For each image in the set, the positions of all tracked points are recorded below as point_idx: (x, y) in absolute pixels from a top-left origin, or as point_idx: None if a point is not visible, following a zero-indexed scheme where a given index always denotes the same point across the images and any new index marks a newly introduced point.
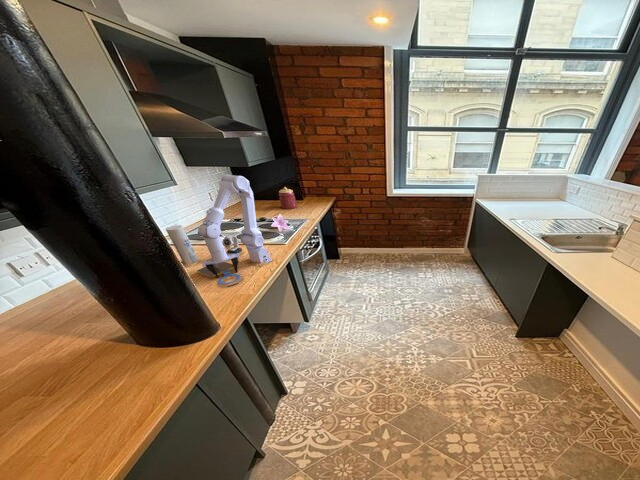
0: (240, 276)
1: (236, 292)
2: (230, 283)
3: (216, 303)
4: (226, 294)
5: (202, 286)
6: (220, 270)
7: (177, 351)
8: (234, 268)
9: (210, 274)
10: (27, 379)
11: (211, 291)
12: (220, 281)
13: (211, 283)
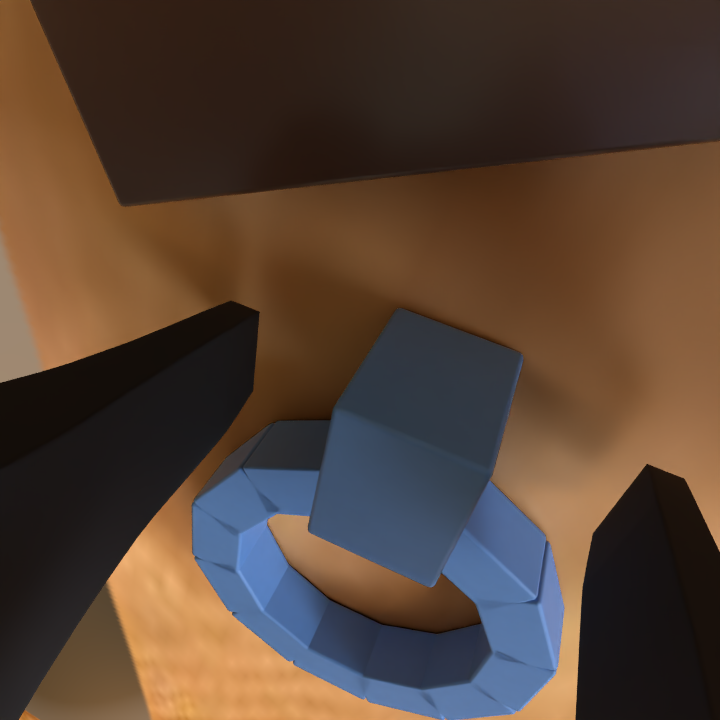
0: (519, 704)
1: (322, 714)
2: (315, 671)
3: (151, 661)
4: (241, 661)
5: (23, 300)
6: (400, 30)
7: None
8: (628, 616)
9: (98, 62)
10: None
11: None
12: (225, 545)
13: (139, 337)
